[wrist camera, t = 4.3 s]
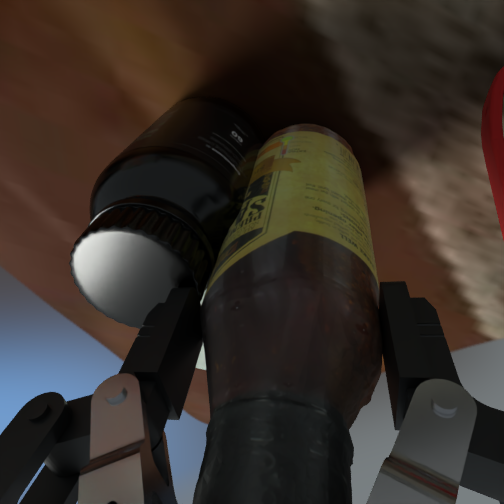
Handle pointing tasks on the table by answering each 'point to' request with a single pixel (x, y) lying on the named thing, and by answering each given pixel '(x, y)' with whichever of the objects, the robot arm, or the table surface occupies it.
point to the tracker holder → (495, 142)
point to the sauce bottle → (291, 328)
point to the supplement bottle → (165, 208)
